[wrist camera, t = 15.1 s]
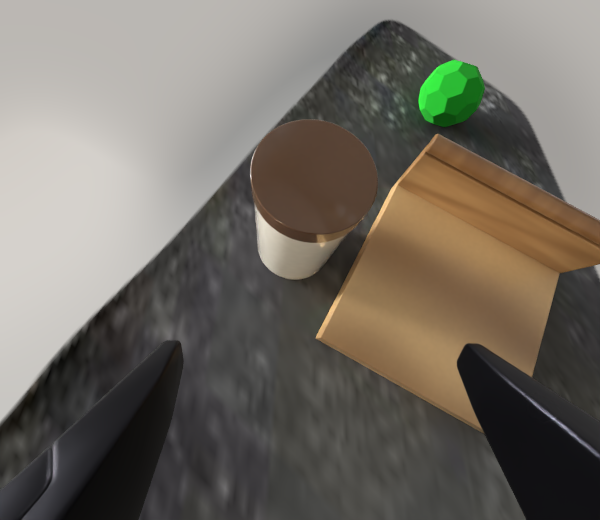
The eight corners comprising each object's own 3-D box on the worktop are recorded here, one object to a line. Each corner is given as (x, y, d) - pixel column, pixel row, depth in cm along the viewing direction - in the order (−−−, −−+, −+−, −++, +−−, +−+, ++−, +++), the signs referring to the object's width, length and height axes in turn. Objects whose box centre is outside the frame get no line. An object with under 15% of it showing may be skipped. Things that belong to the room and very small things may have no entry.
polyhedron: (447, 147, 27) (484, 107, 22) (400, 119, 27) (428, 74, 23) (467, 111, 28) (506, 67, 24) (423, 85, 29) (453, 36, 24)
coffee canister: (342, 266, 23) (398, 212, 13) (270, 291, 22) (275, 251, 12) (315, 200, 24) (349, 107, 14) (246, 221, 23) (233, 134, 13)
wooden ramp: (490, 437, 21) (603, 485, 14) (315, 338, 21) (339, 336, 14) (539, 267, 25) (646, 239, 18) (391, 187, 25) (439, 129, 18)
